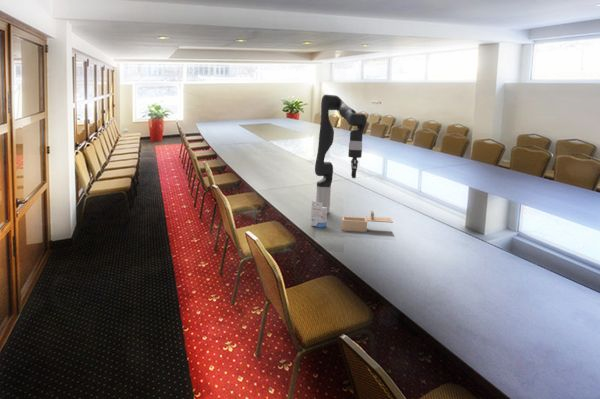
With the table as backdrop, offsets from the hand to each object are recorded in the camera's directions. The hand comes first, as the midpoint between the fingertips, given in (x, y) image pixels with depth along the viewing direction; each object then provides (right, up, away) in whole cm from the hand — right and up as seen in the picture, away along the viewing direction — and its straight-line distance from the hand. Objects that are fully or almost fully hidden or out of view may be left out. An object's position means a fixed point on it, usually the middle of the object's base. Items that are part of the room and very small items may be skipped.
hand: (353, 177), depth 232 cm
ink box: (-20, -29, +8) cm, 36 cm away
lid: (+15, -25, +2) cm, 29 cm away
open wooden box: (+1, -30, +4) cm, 31 cm away
